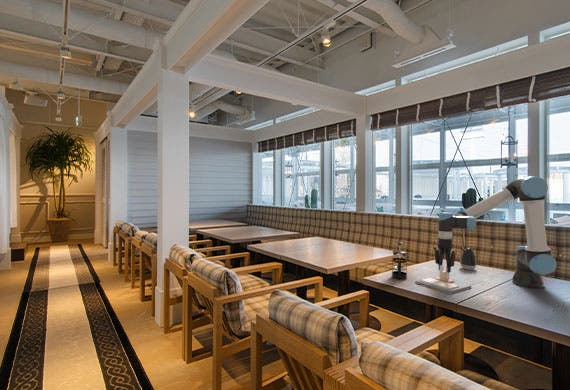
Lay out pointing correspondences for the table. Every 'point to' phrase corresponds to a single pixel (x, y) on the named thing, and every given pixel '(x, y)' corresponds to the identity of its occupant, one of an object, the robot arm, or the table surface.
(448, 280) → the stub
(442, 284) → the board
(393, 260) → the french press
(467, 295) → the table surface
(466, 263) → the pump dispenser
